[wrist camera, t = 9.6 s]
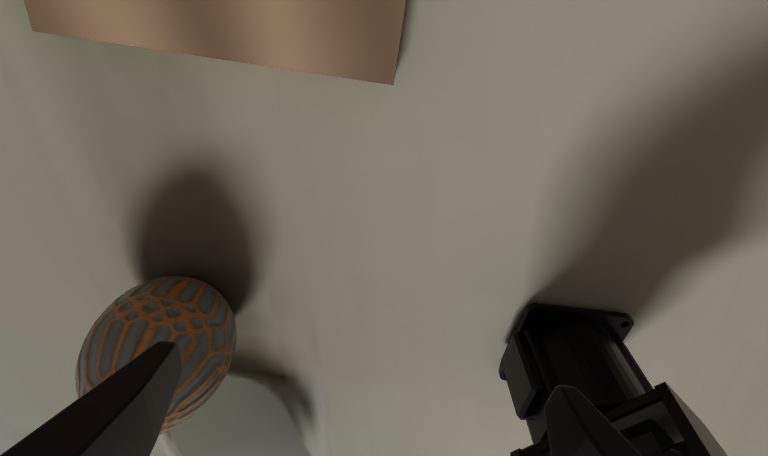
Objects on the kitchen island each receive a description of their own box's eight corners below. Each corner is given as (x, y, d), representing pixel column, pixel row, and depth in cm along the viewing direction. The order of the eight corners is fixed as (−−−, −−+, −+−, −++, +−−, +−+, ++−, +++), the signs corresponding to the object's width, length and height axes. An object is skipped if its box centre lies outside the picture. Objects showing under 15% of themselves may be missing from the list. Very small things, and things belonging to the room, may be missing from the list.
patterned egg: (134, 330, 26) (30, 474, 18) (129, 243, 22) (-2, 378, 15) (244, 352, 27) (187, 497, 19) (256, 272, 23) (192, 411, 16)
